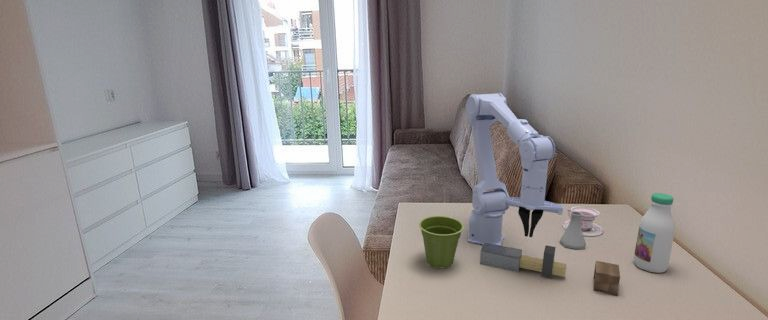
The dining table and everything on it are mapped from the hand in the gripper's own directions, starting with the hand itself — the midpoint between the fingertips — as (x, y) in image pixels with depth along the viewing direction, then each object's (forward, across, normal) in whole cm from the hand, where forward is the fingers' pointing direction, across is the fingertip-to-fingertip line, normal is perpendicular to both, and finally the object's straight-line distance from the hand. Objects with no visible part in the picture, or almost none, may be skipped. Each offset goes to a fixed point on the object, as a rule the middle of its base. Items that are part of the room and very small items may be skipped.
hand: (528, 235), depth 105 cm
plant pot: (+10, -22, -6) cm, 25 cm away
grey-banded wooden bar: (+10, -1, 0) cm, 10 cm away
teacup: (+10, +13, +34) cm, 38 cm away
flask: (+10, +10, +21) cm, 26 cm away
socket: (+10, +18, 0) cm, 21 cm away
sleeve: (+10, -7, 0) cm, 12 cm away
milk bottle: (+10, +30, +16) cm, 35 cm away
